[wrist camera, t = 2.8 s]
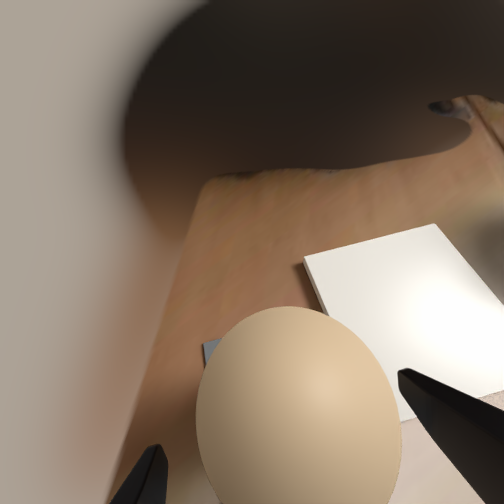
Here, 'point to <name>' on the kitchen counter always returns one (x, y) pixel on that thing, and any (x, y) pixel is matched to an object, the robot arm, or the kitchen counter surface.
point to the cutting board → (415, 309)
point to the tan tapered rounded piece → (297, 414)
